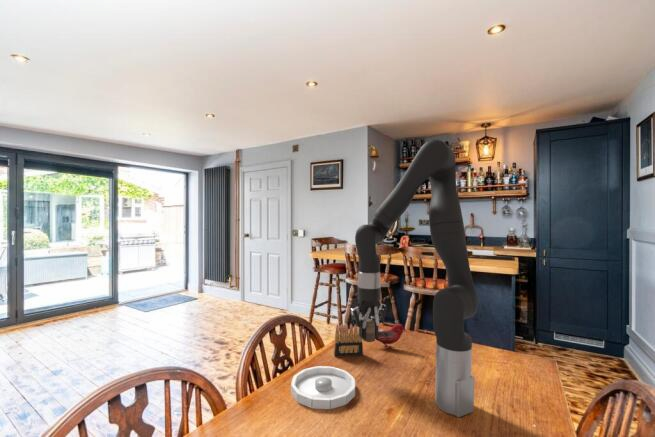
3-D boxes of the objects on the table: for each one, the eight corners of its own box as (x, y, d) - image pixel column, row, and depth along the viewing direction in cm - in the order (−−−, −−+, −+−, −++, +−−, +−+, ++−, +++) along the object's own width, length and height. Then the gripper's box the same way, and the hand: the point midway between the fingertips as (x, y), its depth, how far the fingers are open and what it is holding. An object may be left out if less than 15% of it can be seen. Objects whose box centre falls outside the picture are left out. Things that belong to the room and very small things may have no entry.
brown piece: (377, 340, 104) (377, 322, 104) (367, 342, 102) (367, 324, 102) (370, 336, 108) (370, 318, 108) (360, 338, 106) (360, 320, 106)
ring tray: (367, 398, 93) (367, 389, 93) (306, 416, 84) (307, 406, 84) (335, 369, 110) (335, 361, 110) (283, 381, 101) (283, 374, 101)
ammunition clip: (361, 353, 122) (362, 322, 122) (362, 355, 121) (363, 324, 120) (334, 354, 121) (334, 323, 121) (334, 356, 119) (335, 324, 119)
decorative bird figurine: (405, 351, 125) (406, 325, 125) (360, 346, 128) (360, 321, 128) (405, 348, 128) (406, 323, 128) (361, 343, 131) (361, 319, 131)
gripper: (357, 289, 98) (356, 345, 99) (393, 285, 105) (393, 337, 105) (344, 285, 105) (344, 337, 105) (379, 281, 112) (379, 330, 112)
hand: (368, 337), depth 105 cm, fingers closed on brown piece, 4 cm apart
